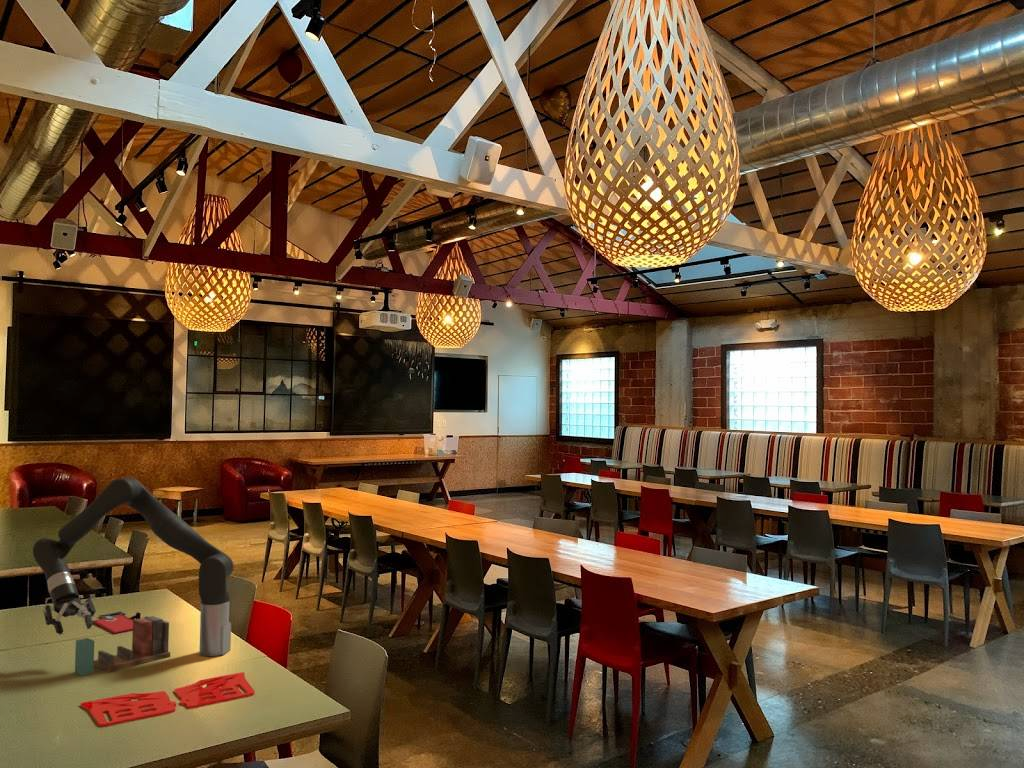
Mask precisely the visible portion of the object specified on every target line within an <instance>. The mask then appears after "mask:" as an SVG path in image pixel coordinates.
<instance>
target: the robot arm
mask: <svg viewBox="0 0 1024 768" xmlns="http://www.w3.org/2000/svg"><path fill="white" fill-rule="evenodd" d="M121 505H123V506H124V505H128V506H129V507H131V508H132V509H134V510H135V511H136V512H137V513H139V514H140V515H141V517H143V518H144V520H145V521H146V523H147V525H148V527H149V528H150V529H151V532H152V533H153V534H154V535H155V536H156V537H157V538H158V539H160V540H161V541H162V542H163V543H165V544H166V545H167V546H168V547H170V548H172V549H175V550H176V551H179V552H181V553H183V554H186V555H188V556H190V557H192V558H193V559H194V560H196V562H198V563H199V564H200V565H199V567H198V568H199V569H198V595H199V597H200V617H199V619H200V620H199V623H200V624H199V651H198V652H199V655H200V656H203V657H216V656H224V655H225V654H228V652H229V651H231V649H232V648H231V645H232V622H231V621H230V599H231V598H230V597H231V596H230V595H231V594H230V593H229V592H228V591H227V578H228V577H229V576H231V575H232V573H233V571H234V567H235V565H234V563H233V560H232V558H231V557H230V556H229V555H228V554H227V553H225V552H223V551H222V550H220V549H219V548H217V547H216V546H214V545H213V544H211V543H210V542H209V541H208V540H207V539H205V538H204V537H203V536H202V535H200V534H199V532H197V531H196V530H195V529H194V528H192V527H191V526H190V525H189V524H188V523H187V522H186V521H184V520H183V518H181V517H180V516H178V515H177V514H176V513H175V512H173V511H172V510H171V509H170V508H168V507H167V506H166V505H164V503H162V502H160V501H159V500H158V499H157V498H156V497H155V496H154V495H153V494H152V493H151V492H150V491H149V490H148V489H147V488H146V487H145V485H143V483H141V481H140V480H138V479H136V478H133V477H120V478H116V479H113V480H112V481H111V482H110V483H109V484H108V485H107V486H106V487H105V488H104V489H103V490H102V492H101V493H100V494H98V496H97V497H96V498H95V499H94V500H93V501H92V502H91V503H89V505H88V506H86V507H85V508H84V509H83V510H82V511H81V512H79V513H78V514H77V515H76V516H74V517H73V518H72V519H70V520H69V521H68V522H67V523H66V524H64V525H63V526H62V527H60V529H59V530H58V532H57V536H58V538H59V540H55V539H51V538H48V537H43V538H40V539H38V540H37V541H35V543H34V544H33V547H32V555H33V558H34V560H35V561H36V563H37V565H38V566H39V568H40V569H41V570H42V571H43V573H44V577H45V580H46V583H47V589H48V590H47V591H48V593H49V595H50V599H51V602H52V604H53V605H50V604H46V605H45V607H44V608H43V615H44V619H45V624H46V625H47V626H50V625H52V626H54V627H53V628H54V630H55V632H56V634H58V635H59V636H60V635H63V633H64V628H63V624H62V621H61V618H62V617H63V618H67V617H73V616H77V617H80V618H83V619H84V623H85V626H86V629H87V630H89V629H91V628H92V626H93V625H94V624H93V621H94V620H93V619H92V618H93V617H94V616H95V614H96V613H97V609H96V608H95V606H94V603H93V601H92V599H91V597H88V598H87V599H85V600H81V599H80V596H79V595H80V594H79V592H78V590H77V586H76V583H75V580H74V578H73V576H72V574H71V571H70V568H69V565H68V563H67V562H66V561H65V560H64V559H65V558H66V557H67V556H68V554H69V553H70V552H71V551H72V549H73V548H74V546H75V545H76V544H77V542H79V541H80V540H81V539H83V538H84V537H85V536H86V535H87V534H89V533H90V532H91V531H92V530H93V529H94V528H95V527H96V526H97V524H98V523H99V522H100V521H101V520H102V519H103V517H104V516H105V515H108V513H110V512H111V511H113V510H114V509H116V508H117V507H120V506H121ZM53 612H55V613H57V615H56V618H54V617H53V614H52V613H53Z"/></svg>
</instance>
